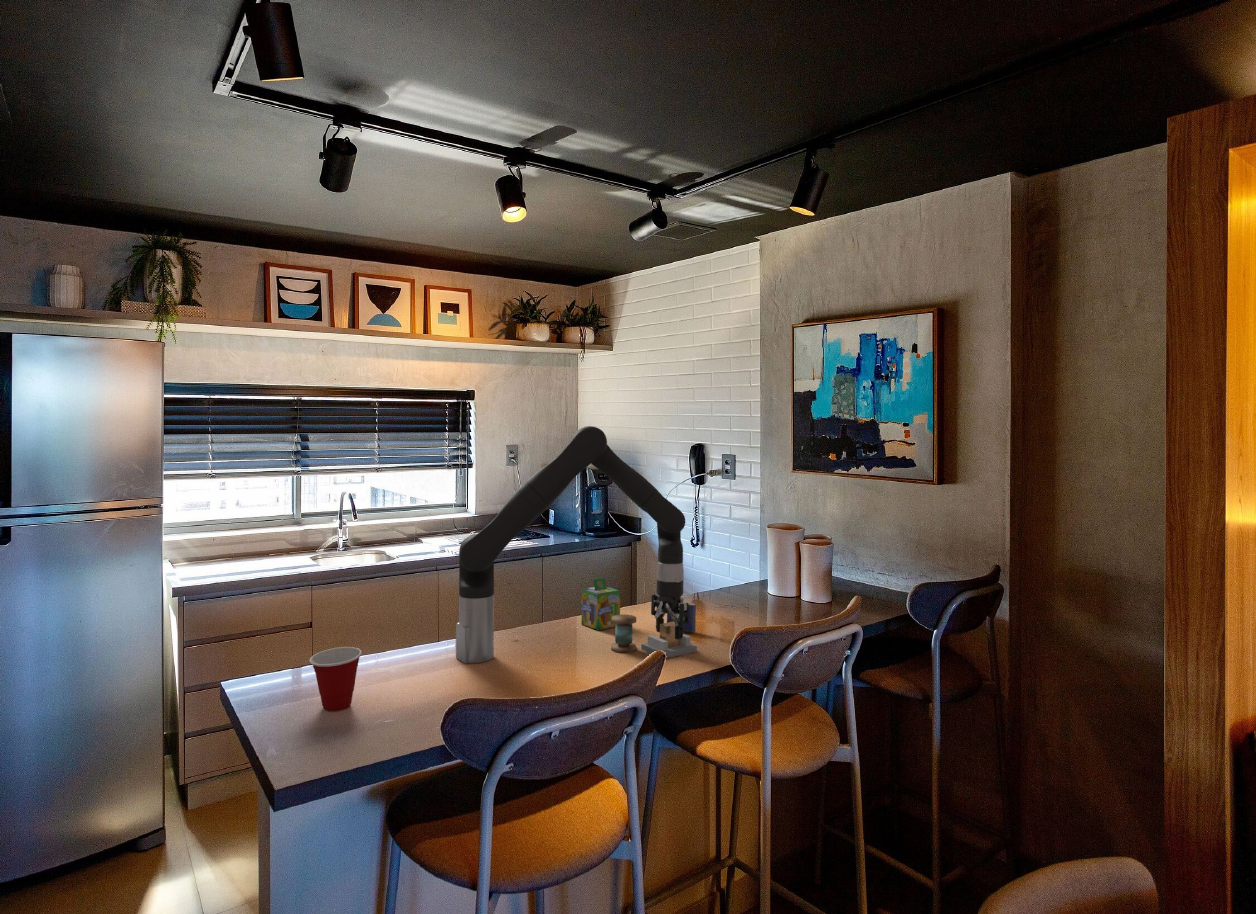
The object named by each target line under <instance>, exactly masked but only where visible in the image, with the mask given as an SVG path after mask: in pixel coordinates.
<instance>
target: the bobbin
mask: <svg viewBox="0 0 1256 914" xmlns="http://www.w3.org/2000/svg"><path fill="white" fill-rule="evenodd" d="M612 622H613V623H616V624H615V627H614V628H615V630H614V631H615V634H614V636H615V639H614V642H613V643H612V644H611V648H610V649H611V651H612V652H615V653H619V654H620V653H621V654H629V653H630V654H631V653H633V652H636V650H637V645H636V643H633V624H636V623H637V616H635V615H632V614H626V613H625V614H621V613H620V615H614V616H612Z"/></svg>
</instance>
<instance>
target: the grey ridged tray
mask: <svg viewBox="0 0 1256 914" xmlns="http://www.w3.org/2000/svg"><path fill="white" fill-rule="evenodd" d="M691 641H692V640H691V636H689V635H686V633H683V637H682V639H680V645H677V646H672V647H668V641H666V640H663V639H661V638H660V637H658V636H655V635H651V634H650V635H648V636H647V642H645V643H641V645H640V647H641V648H640V649H641V650H642V651H644V652H647V653H648V654H651V653H652V652H654V651H658V650H662V651H664V652H666V656H667V658H666V659H669V658H674V657H677V656H683V655H688V654H691V653H697V652H698V646H697V645H695V644H692V643H691ZM668 657H669V658H668Z"/></svg>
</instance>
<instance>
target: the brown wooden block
mask: <svg viewBox="0 0 1256 914" xmlns="http://www.w3.org/2000/svg"><path fill="white" fill-rule="evenodd" d="M675 626H676V625H675V622H668V623H667V622H664V623H663V624H660V632H659V638H661V639H663V640H666V641H668V647H672V646H677V645H680V639H678V640H677V639H675Z"/></svg>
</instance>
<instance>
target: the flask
mask: <svg viewBox="0 0 1256 914" xmlns="http://www.w3.org/2000/svg"><path fill="white" fill-rule="evenodd" d="M680 599H681V603H684V599H685V597H683V596H681V598H680ZM687 603H688V604H689V624H687V625H684V626H683V634H691V635H692V634H695V633H696V630H697V629H696V625H697V623H696V619H697V618H696V616H697V614H696V613H697V612H696V611H697V605H696V604H695V603H691V602H690V603H689V602H687ZM676 614H678V612H677V613H676ZM676 614H675V615H676ZM677 619H678V622H679V618H677ZM683 620H685V616H684V617H683ZM668 622H674V620H673V619H672V618H671V616H670V615H668V614H667V613H666V623H668Z"/></svg>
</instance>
